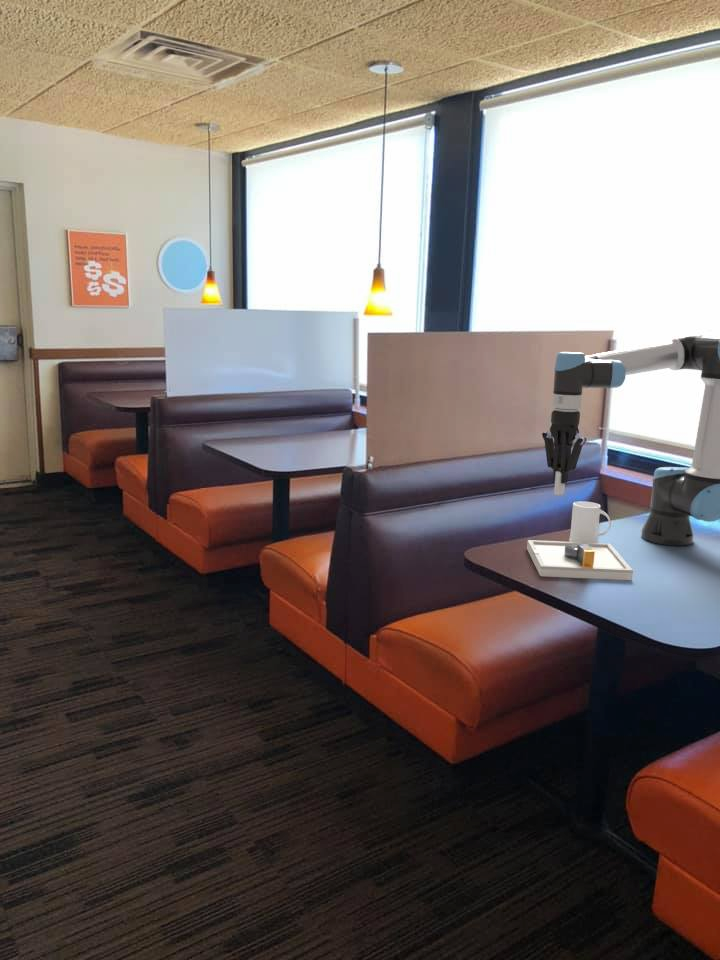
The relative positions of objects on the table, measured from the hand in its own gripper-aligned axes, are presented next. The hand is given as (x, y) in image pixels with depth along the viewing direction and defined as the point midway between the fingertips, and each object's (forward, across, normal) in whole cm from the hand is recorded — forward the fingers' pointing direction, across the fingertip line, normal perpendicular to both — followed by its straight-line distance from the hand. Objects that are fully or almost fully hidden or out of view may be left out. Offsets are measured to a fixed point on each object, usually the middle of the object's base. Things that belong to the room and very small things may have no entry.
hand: (559, 494), depth 212 cm
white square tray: (+19, +6, +3) cm, 20 cm away
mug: (+20, -4, +23) cm, 31 cm away
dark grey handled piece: (+17, +8, +1) cm, 19 cm away
